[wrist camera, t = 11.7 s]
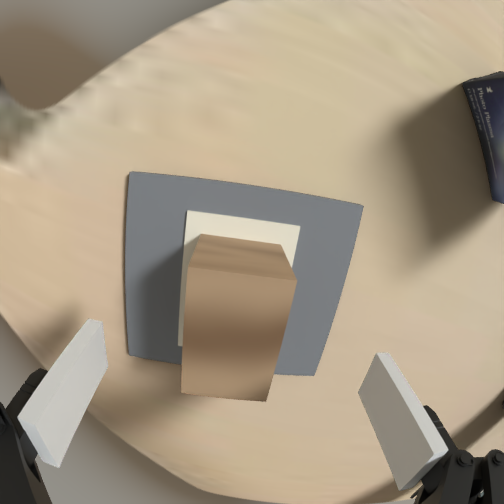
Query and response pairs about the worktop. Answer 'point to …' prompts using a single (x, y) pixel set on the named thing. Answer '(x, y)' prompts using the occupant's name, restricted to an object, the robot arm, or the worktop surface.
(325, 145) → the worktop surface
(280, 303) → the block
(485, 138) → the small box
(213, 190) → the mat
